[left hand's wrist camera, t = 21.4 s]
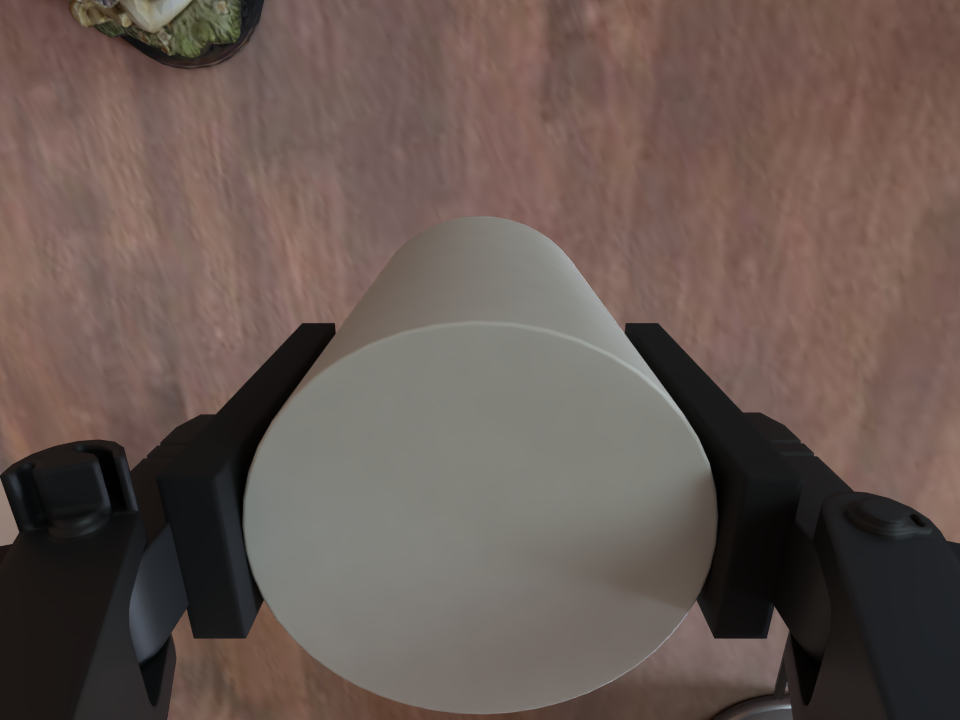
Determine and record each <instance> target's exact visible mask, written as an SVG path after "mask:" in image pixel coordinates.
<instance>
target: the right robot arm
mask: <svg viewBox="0 0 960 720" xmlns="http://www.w3.org/2000/svg"><path fill="white" fill-rule="evenodd" d="M713 720H793V715H792V709H791V702H790V696H789V695H783V699H782V700H780V699H776V698H774V695H771V696H765V697H759V698H755V699H752V700H748V701H745V702H743V703H740V704H738V705H735V706H733V707H731V708H729V709H727V710H726V711H724V712H722V713H721V714H719V715H718V716H717V717H715V718H714V719H713Z"/></svg>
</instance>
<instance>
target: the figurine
mask: <svg viewBox="0 0 960 720" xmlns="http://www.w3.org/2000/svg"><path fill="white" fill-rule="evenodd" d="M263 2H264V0H69V11H70V12H71V14H72V16H73V18H74V19H75V20H76V21H77V22H78V23H79V24H80V25H82V26H84V27H91V26H94V27H95V28H96V29H97V30H98V31H99V32H101V33H103V34H105V35H107V36H109V37H117V36H120V37H122V38H123V39H124V40H126V41H127V42H128V43H130V44H131V45H133V46H134V47H136V48H137V49H138V50H140V51H141V52H142V53H144V54H146V55H147V56H149V57H151V58H152V59H154V60H156V61H158V62H160V63H162V64H164V65H168V66H172V67H176V68H184V69H191V68H201V67H209V66H213V65H216V64H219V63H222V62H224V61H225V60H227V59H229V58H231V57H232V56H234V55H235V54H236V53H237V52H239V51H240V50H241V49H242V48H243V47H244V46H245V45H246V44H247V43H248V42H249V41H250V39H251V37H252V35H253V33H254V31H255V29H256V27H257V25H258V24H259V20H260V16H261V11H262V7H263Z"/></svg>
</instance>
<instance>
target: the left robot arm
mask: <svg viewBox="0 0 960 720" xmlns="http://www.w3.org/2000/svg"><path fill="white" fill-rule="evenodd" d="M335 334H336V332H335V323H302V324H301V325H300V326H299V327H298V328H297V330H296V331H295V332H294V333H293V334H292V335H291V336H290V337H289V338H288V339H287V340H286V341H285V342H284V343H283V344H282V345H281V346H280V347H279V348H278V350H277V351H276V352H275V353H274V354H273V355H272V356H271V357H270V358H269V359H268V360H267V361H266V362H265V363H264V364H263V365H262V366H261V367H260V369H259V370H258V371H257V372H256V373H255V374H254V375H253V376H252V377H251V378H250V379H249V380H248V381H247V382H246V383H245V384H244V385H243V386H242V387H241V389H240V390H239V391H238V392H237V393H236V394H235V395H234V396H233V397H232V398H231V399H230V400H229V401H228V402H227V403H226V404H225V405H224V406H223V407H222V409H221V410H220V411H219V412H218V413H217V414H212V415H199V416H197V417H195V418H193V419H191V420H189V421H188V422H186V423H184V424H182V425H180V426H178V427H176V428H175V429H174V430H173V431H172V432H171V433H170V434H169V435H168V436H167V437H166V438H165V439H164V440H163V441H162V442H161V444H160V446H156V447H155V448H154V449H153V450H152V451H151V452H150V453H149V454H148V455H147V459H143V460H142V461H141V462H140V463H139V464H138V465H137V466H136V467H135V468H133V469H132V470H131V471H130V469H129V466H128V462H127V458H126V454H125V450H124V447H122V446H121V445H119V444H117V443H116V442H112V441H105V440H86V441H76V442H71V443H67V444H62V445H57V446H54V447H51V448H48V449H45V450H42V451H39V452H37V453H34V454H31V455H29V456H27V457H26V458H24V459H22V460H20V461H18V462H16V463H14V464H12V465H11V466H10V467H9V468H8V469H7V470H6V471H4V472H3V473H2V474H1V475H0V479H1V481H2V484H3V487H4V490H5V493H6V496H7V498H8V501H9V504H10V507H11V510H12V513H13V515H14V518H15V521H16V524H17V527H18V530H19V534H18V536H17V537H16V539H15V541H14V542H13V544H10V545H5V546H0V720H167V717H168V711H169V704H170V697H171V691H172V684H173V678H174V671H175V665H176V652H175V645H174V641H173V637H172V634H171V632H172V631H173V629H174V628H175V626H176V624H177V623H178V621H179V619H180V618H181V616H182V615H183V613H184V611H185V610H186V608H187V612H188V616H189V620H190V624H191V629H192V633H193V637H194V638H246V637H247V635H248V633H249V631H250V628H251V626H252V624H253V622H254V620H255V618H256V616H257V613H258V611H259V609H260V607H261V605H262V603H263V601H264V599H263V597H262V595H261V593H260V590H259V588H258V586H257V584H256V582H255V580H254V577H253V575H252V571H251V568H250V565H249V561H248V558H247V554H246V550H245V542H244V534H243V526H242V520H243V496H244V491H245V486H246V481H247V476H248V471H249V469H250V466H251V463H252V461H253V458H254V455H255V453H256V450H257V447H258V445H259V443H260V441H261V440H262V438H263V436H264V434H265V433H266V431H267V429H268V427H269V426H270V424H271V422H272V420H273V419H274V418H275V416H276V415H277V414H278V412H279V411H280V409H281V408H282V407H283V405H284V404H285V403H286V401H287V400H288V399H289V397H290V396H291V394H292V393H293V392H294V390H295V389H296V388H297V386H298V385H299V383H300V382H301V381H302V379H303V378H304V377H305V375H306V374H307V373H308V371H309V370H310V368H311V367H312V366H313V364H314V363H315V362H316V360H317V359H318V357H319V356H320V355H321V353H322V352H323V351H324V349H325V348H326V347H327V345H328V344H329V342H330V341H331V340H332V338H333V337H334V336H335ZM625 335H626V336H627V338H628V339H629V340H630V342H631V343H632V344H633V346H634V347H635V349H636V350H637V351H638V353H639V354H640V355H641V357H642V358H643V359H644V361H645V362H646V364H647V365H648V366H649V368H650V369H651V370H652V372H653V373H654V374H655V376H656V377H657V379H658V380H659V381H660V383H661V384H662V385H663V387H664V388H665V390H666V391H667V392H668V394H669V395H670V396H671V398H672V399H673V400H674V402H675V403H676V405H677V406H678V407H679V409H680V410H681V411H682V413H683V414H684V416H685V417H686V419H687V421H688V422H689V424H690V425H691V427H692V428H693V430H694V432H695V433H696V435H697V436H698V438H699V440H700V443H701V445H702V447H703V449H704V452H705V454H706V456H707V459H708V461H709V463H710V467H711V471H712V475H713V479H714V483H715V487H716V495H717V506H718V527H717V540H716V546H715V551H714V555H713V559H712V563H711V568H710V570H709V573H708V575H707V578H706V580H705V583H704V585H703V588H702V590H701V592H700V594H699V596H698V597H697V599H696V600H697V602H698V604H699V606H700V608H701V610H702V613H703V615H704V617H705V619H706V621H707V623H708V625H709V628H710V630H711V632H712V634H713V636H714V638H756V639H767V635H768V630H769V626H770V622H771V618H772V614H773V610H774V606H775V608H776V609H777V611H778V612H779V614H780V616H781V617H782V619H783V620H784V622H785V624H786V625H787V627H788V628H789V634H788V637H787V641H786V645H785V649H784V653H783V657H782V661H781V665H780V669H779V673H778V677H777V680H776V684H775V691H774V698H776V699H780V700H782V699H783V695H784V691H785V688H786V687H787V686H788V689H789V696H790V702H791V709H792V715H793V720H960V543H955V542H949V541H946V539H945V538H944V536H943V534H942V533H941V531H940V530H939V529H938V528H937V527H936V526H935V525H934V524H933V523H932V522H931V521H930V519H928V518H927V517H925V516H924V515H922V514H920V513H919V512H917V511H916V510H914V509H913V508H911V507H909V506H906V505H904V504H902V503H899V502H897V501H894V500H892V499H890V498H886V497H882V496H878V495H874V494H870V493H865V492H854V491H853V490H852V489H851V488H850V487H849V486H848V485H847V484H846V483H845V482H844V481H843V480H842V479H840V478H839V477H838V476H837V475H836V474H835V473H834V472H833V471H832V470H831V469H830V468H829V467H828V466H827V465H826V464H825V463H824V462H823V461H822V460H820V459H819V458H818V457H817V456H814V453H813V452H812V451H811V450H810V449H809V448H808V447H807V446H806V445H805V444H801V442H800V440H799V439H798V438H797V437H796V436H795V435H794V434H793V433H792V432H791V431H790V430H789V429H788V428H787V427H786V426H785V425H783V424H781V423H779V422H777V421H775V420H773V419H771V418H769V417H768V416H766V415H764V414H762V413H743V412H742V411H741V410H740V409H739V408H738V407H737V406H736V405H735V404H734V403H733V402H732V401H731V400H730V399H729V398H728V396H727V395H726V394H725V393H724V392H723V391H722V390H721V389H720V388H719V387H718V386H717V385H716V384H715V383H714V382H713V381H712V380H711V379H710V378H709V376H708V375H707V374H706V373H705V372H704V371H703V370H702V369H701V368H700V367H699V366H698V365H697V364H696V363H695V362H694V361H693V360H692V359H691V358H690V356H689V355H688V354H687V353H686V352H685V351H684V350H683V349H682V348H681V347H680V346H679V345H678V344H677V343H676V342H675V341H674V340H673V339H672V338H671V336H670V335H669V334H668V333H667V332H666V331H665V330H664V329H663V328H662V327H661V326H660V325H659V324H658V323H626V325H625Z"/></svg>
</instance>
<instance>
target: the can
mask: <svg viewBox="0 0 960 720" xmlns="http://www.w3.org/2000/svg"><path fill="white" fill-rule="evenodd" d="M242 526H243V534H244V542H245V550H246V554H247V558H248V561H249V565H250V568H251V571H252V575H253V577H254V580H255V582H256V584H257V586H258V588H259V590H260V593H261V595H262V597H263V599H264V601H265V602H266V604H267V605H268V607H269V608H270V610H271V612H272V613H273V615H274V616H275V618H276V619H277V621H278V622H279V623H280V624H281V625H282V627H283V628H284V629H285V630H286V631H287V633H288V634H289V635H290V636H291V637H292V639H293V640H294V641H295V642H297V643H298V644H299V645H300V646H301V647H302V648H303V649H304V650H305V651H306V652H307V653H308V654H310V655H311V656H312V657H313V658H314V659H316V660H317V661H318V662H320V663H321V664H323V665H324V666H325V667H327V668H328V669H329V670H331V671H332V672H334V673H335V674H337V675H339V676H341V677H342V678H344V679H346V680H348V681H349V682H351V683H353V684H355V685H356V686H359V687H361V688H363V689H365V690H368V691H370V692H372V693H375V694H377V695H379V696H382V697H385V698H388V699H391V700H394V701H397V702H400V703H403V704H407V705H411V706H416V707H420V708H425V709H429V710H436V711H444V712H452V713H465V714H494V713H511V712H517V711H524V710H530V709H537V708H541V707H545V706H549V705H553V704H557V703H561V702H564V701H567V700H570V699H572V698H575V697H578V696H581V695H583V694H586V693H589V692H591V691H593V690H595V689H597V688H599V687H601V686H603V685H605V684H608V683H610V682H612V681H613V680H615V679H617V678H618V677H620V676H621V675H623V674H625V673H626V672H628V671H630V670H631V669H633V668H634V667H636V666H637V665H638V664H639V663H641V662H642V661H643V660H644V659H646V658H647V657H648V656H650V655H651V654H652V653H653V652H655V651H656V650H657V649H658V648H659V647H660V646H661V645H662V644H663V643H664V642H665V641H666V640H667V639H668V638H669V637H670V636H671V635H672V634H673V632H674V631H675V630H676V629H677V627H678V626H679V625H680V623H681V622H682V621H683V619H684V618H685V617H686V616H687V614H688V613H689V611H690V609H691V608H692V606H693V604H694V603H695V601H696V599H697V597H698V596H699V594H700V592H701V590H702V588H703V585H704V583H705V580H706V578H707V575H708V573H709V570H710V568H711V563H712V559H713V555H714V551H715V546H716V540H717V527H718V506H717V495H716V487H715V483H714V479H713V475H712V471H711V467H710V463H709V461H708V459H707V456H706V454H705V452H704V449H703V447H702V445H701V443H700V440H699V438H698V436H697V435H696V433H695V432H694V430H693V428H692V427H691V425H690V424H689V422H688V421H687V419H686V417H685V416H684V414H683V413H682V411H681V410H680V409H679V407H678V406H677V405H676V403H675V402H674V400H673V399H672V398H671V396H670V395H669V394H668V392H667V391H666V390H665V388H664V387H663V385H662V384H661V383H660V381H659V380H658V379H657V377H656V376H655V374H654V373H653V372H652V370H651V369H650V368H649V366H648V365H647V364H646V362H645V361H644V359H643V358H642V357H641V355H640V354H639V353H638V351H637V350H636V349H635V347H634V346H633V344H632V343H631V342H630V340H629V339H628V338H627V336H626V335H625V334H624V332H623V331H622V329H621V328H620V327H619V325H618V324H617V323H616V321H615V320H614V319H613V317H612V316H611V314H610V313H609V312H608V310H607V309H606V308H605V306H604V305H603V304H602V302H601V301H600V299H599V298H598V297H597V295H596V294H595V293H594V291H593V290H592V289H591V287H590V286H589V284H588V283H587V282H586V280H585V279H584V278H583V276H582V275H581V274H580V272H579V271H578V269H577V268H576V267H575V265H574V264H573V263H572V261H571V260H570V259H569V258H568V257H567V255H566V254H565V253H564V252H563V251H562V250H561V249H560V248H559V247H558V246H557V245H556V244H555V243H554V242H552V241H551V240H550V239H549V238H547V237H546V236H544V235H543V234H541V233H540V232H538V231H536V230H534V229H532V228H530V227H528V226H526V225H524V224H521V223H518V222H515V221H512V220H508V219H503V218H497V217H487V216H473V217H462V218H457V219H453V220H448V221H445V222H442V223H440V224H437V225H434V226H432V227H430V228H428V229H426V230H424V231H423V232H421V233H419V234H417V235H416V236H415V237H413V238H412V239H411V240H409V241H408V242H406V243H405V244H404V245H403V246H402V247H401V248H400V249H399V250H398V251H397V252H396V253H395V254H394V256H393V257H392V258H391V259H390V261H389V262H388V263H387V264H386V266H385V267H384V269H383V270H382V271H381V273H380V274H379V275H378V277H377V278H376V279H375V281H374V282H373V284H372V285H371V286H370V288H369V289H368V290H367V292H366V293H365V295H364V296H363V297H362V299H361V300H360V301H359V303H358V304H357V305H356V307H355V308H354V310H353V311H352V312H351V314H350V315H349V316H348V318H347V319H346V321H345V322H344V323H343V325H342V326H341V327H340V329H339V330H338V331H337V333H336V334H335V336H334V337H333V338H332V340H331V341H330V342H329V344H328V345H327V347H326V348H325V349H324V351H323V352H322V353H321V355H320V356H319V357H318V359H317V360H316V362H315V363H314V364H313V366H312V367H311V368H310V370H309V371H308V373H307V374H306V375H305V377H304V378H303V379H302V381H301V382H300V383H299V385H298V386H297V388H296V389H295V390H294V392H293V393H292V394H291V396H290V397H289V399H288V400H287V401H286V403H285V404H284V405H283V407H282V408H281V409H280V411H279V412H278V414H277V415H276V416H275V418H274V419H273V420H272V422H271V424H270V426H269V427H268V429H267V431H266V433H265V434H264V436H263V438H262V440H261V441H260V443H259V445H258V447H257V450H256V453H255V455H254V458H253V461H252V463H251V466H250V469H249V471H248V476H247V481H246V486H245V491H244V496H243V520H242Z"/></svg>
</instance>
